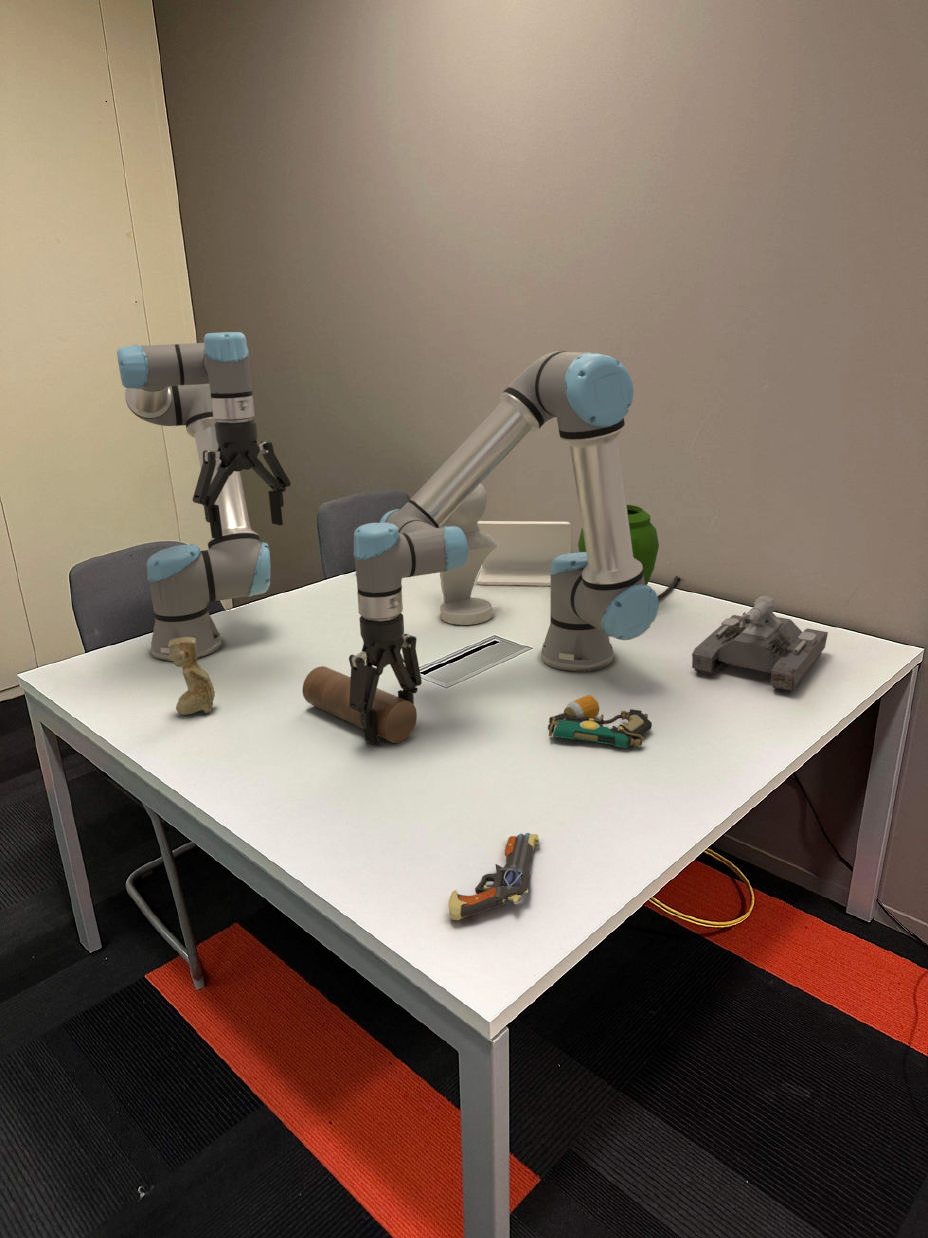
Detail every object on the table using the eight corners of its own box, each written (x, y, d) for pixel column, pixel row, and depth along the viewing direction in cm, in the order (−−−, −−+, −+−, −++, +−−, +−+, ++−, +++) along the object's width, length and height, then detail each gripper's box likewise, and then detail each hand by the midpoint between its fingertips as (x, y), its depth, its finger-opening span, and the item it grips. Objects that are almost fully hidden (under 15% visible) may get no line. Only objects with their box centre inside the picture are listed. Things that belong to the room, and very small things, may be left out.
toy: (732, 635, 193) (738, 572, 188) (825, 653, 182) (834, 587, 177) (690, 675, 174) (695, 605, 168) (791, 698, 163) (799, 624, 157)
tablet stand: (569, 585, 229) (570, 524, 223) (476, 584, 232) (475, 523, 226) (570, 566, 246) (571, 508, 240) (484, 564, 249) (483, 507, 243)
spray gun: (659, 729, 154) (627, 769, 142) (575, 704, 162) (538, 740, 150) (661, 708, 152) (629, 747, 141) (576, 684, 160) (539, 719, 149)
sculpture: (181, 705, 167) (169, 634, 162) (218, 702, 168) (208, 632, 162) (175, 719, 162) (163, 646, 156) (213, 716, 162) (203, 643, 157)
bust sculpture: (462, 591, 227) (458, 459, 215) (509, 618, 207) (507, 475, 195) (407, 602, 220) (400, 467, 208) (450, 631, 200) (445, 483, 188)
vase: (599, 587, 227) (601, 497, 218) (668, 600, 216) (673, 505, 208) (562, 608, 212) (564, 513, 204) (634, 623, 202) (639, 523, 193)
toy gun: (443, 908, 106) (523, 907, 104) (470, 829, 124) (539, 827, 122) (446, 926, 107) (525, 927, 104) (473, 845, 124) (541, 844, 122)
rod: (304, 710, 164) (300, 673, 161) (335, 696, 169) (332, 661, 167) (386, 749, 149) (383, 709, 146) (418, 733, 154) (416, 694, 151)
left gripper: (184, 430, 147) (201, 548, 155) (301, 413, 164) (311, 521, 172) (162, 426, 152) (180, 541, 160) (278, 411, 169) (289, 515, 177)
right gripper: (348, 637, 136) (358, 762, 144) (439, 603, 150) (444, 719, 158) (319, 626, 141) (330, 747, 149) (410, 594, 155) (416, 707, 163)
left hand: (248, 531), depth 166 cm, fingers open, 13 cm apart
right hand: (389, 732), depth 154 cm, fingers closed on rod, 8 cm apart
